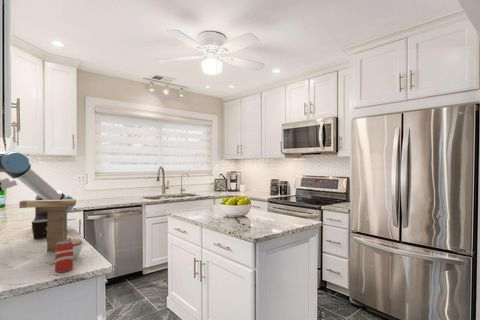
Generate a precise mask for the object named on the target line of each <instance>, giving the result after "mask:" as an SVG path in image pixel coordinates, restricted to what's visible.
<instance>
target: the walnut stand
mask: <svg viewBox="0 0 480 320" xmlns="http://www.w3.org/2000/svg"><path fill="white" fill-rule="evenodd" d="M68 208H69V206H59V207H40V208H39V212H48V217H47V237H46V242H47V243H46V252H48V253H49V252H50V253H51V252H55V247H56V243H57V242H59V241H63V240H68V213H67V209H68Z"/></svg>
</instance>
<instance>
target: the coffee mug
mask: <svg viewBox="0 0 480 320" xmlns="http://www.w3.org/2000/svg"><path fill="white" fill-rule="evenodd" d="M32 228H33V229H32ZM31 229H32V235H33V239H34V240H42V239H47V219H42V220H35V221H34V220H31Z"/></svg>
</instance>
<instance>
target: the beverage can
mask: <svg viewBox="0 0 480 320" xmlns="http://www.w3.org/2000/svg"><path fill="white" fill-rule="evenodd" d="M54 255H55V256H54V271H56V272H57V273H66V272H70V271H71V270H72V269H73V268H74V259H73V244H72V241H71V240H68V239H67V240H64V241H59V242H57V245H56V247H55V251H54Z"/></svg>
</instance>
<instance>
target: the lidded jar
mask: <svg viewBox="0 0 480 320" xmlns="http://www.w3.org/2000/svg"><path fill="white" fill-rule="evenodd" d="M67 240H71V241H72V244H73V260H74V259H76V258H77V257H78V256H79V255H80V253H81V252H82V247H83V240H82V239H80V238H70V237H69V238H68V237H67ZM63 241H64V240H63ZM56 245H57V243H56Z"/></svg>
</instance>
